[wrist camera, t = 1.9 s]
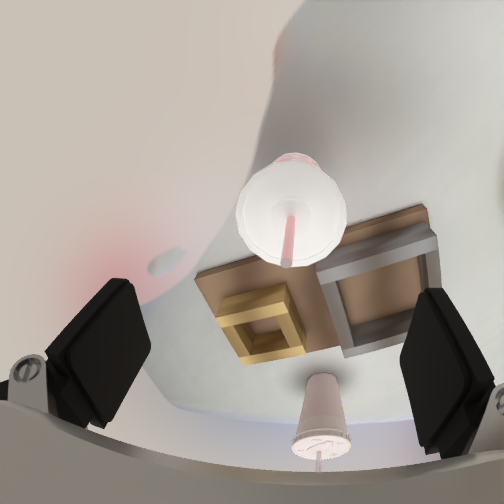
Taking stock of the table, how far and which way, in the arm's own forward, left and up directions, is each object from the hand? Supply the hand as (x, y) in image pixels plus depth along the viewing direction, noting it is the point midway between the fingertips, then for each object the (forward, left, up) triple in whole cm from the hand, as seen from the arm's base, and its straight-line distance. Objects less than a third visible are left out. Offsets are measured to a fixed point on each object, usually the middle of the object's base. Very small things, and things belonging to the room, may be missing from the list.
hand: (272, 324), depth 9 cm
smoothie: (+24, +4, -17) cm, 30 cm away
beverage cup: (0, 0, -17) cm, 17 cm away
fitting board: (+11, +3, -17) cm, 20 cm away
